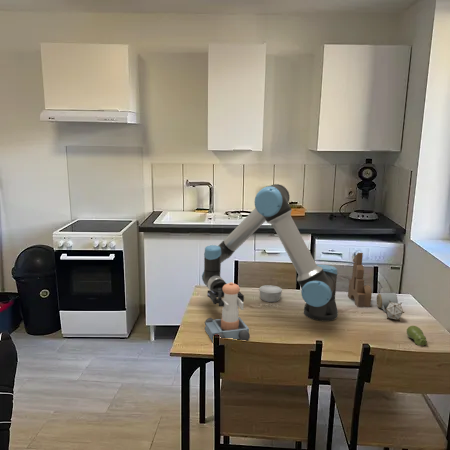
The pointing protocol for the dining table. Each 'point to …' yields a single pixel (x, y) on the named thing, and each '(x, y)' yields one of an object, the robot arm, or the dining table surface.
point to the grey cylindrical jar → (386, 300)
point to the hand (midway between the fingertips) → (235, 307)
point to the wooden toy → (359, 284)
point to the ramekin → (270, 293)
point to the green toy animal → (416, 335)
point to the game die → (394, 310)
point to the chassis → (215, 328)
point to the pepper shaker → (230, 307)
